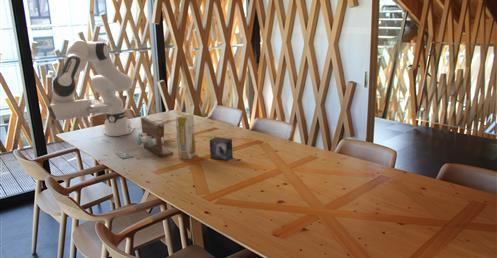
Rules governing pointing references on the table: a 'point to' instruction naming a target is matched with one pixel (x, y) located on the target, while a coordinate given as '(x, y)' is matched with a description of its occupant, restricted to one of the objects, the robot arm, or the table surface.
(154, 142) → the button
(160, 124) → the disposable coffee cup
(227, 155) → the small box
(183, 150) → the juice carton
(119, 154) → the card
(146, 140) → the button middle
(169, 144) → the table surface
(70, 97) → the robot arm
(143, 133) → the button
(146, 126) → the brown wooden rack
